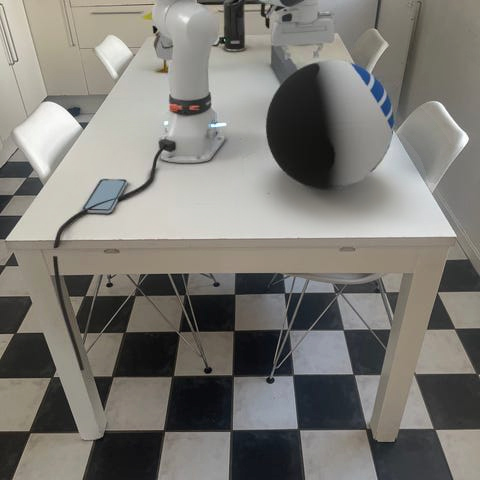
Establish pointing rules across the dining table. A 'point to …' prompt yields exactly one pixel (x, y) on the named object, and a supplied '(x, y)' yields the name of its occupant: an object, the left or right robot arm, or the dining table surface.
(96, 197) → the smartphone
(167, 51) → the toy
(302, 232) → the dining table surface
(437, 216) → the dining table surface
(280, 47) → the post
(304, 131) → the black and white ball
